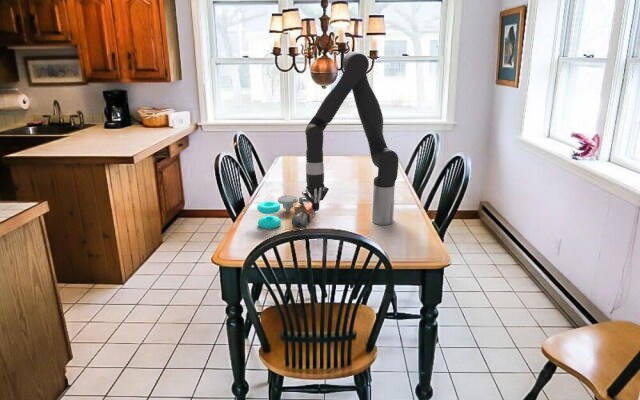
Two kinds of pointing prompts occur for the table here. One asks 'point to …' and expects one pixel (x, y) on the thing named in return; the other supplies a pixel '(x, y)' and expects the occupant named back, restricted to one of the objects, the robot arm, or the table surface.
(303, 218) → the valve body
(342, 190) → the table surface
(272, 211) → the donuts
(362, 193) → the table surface
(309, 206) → the lever
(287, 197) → the showerhead
